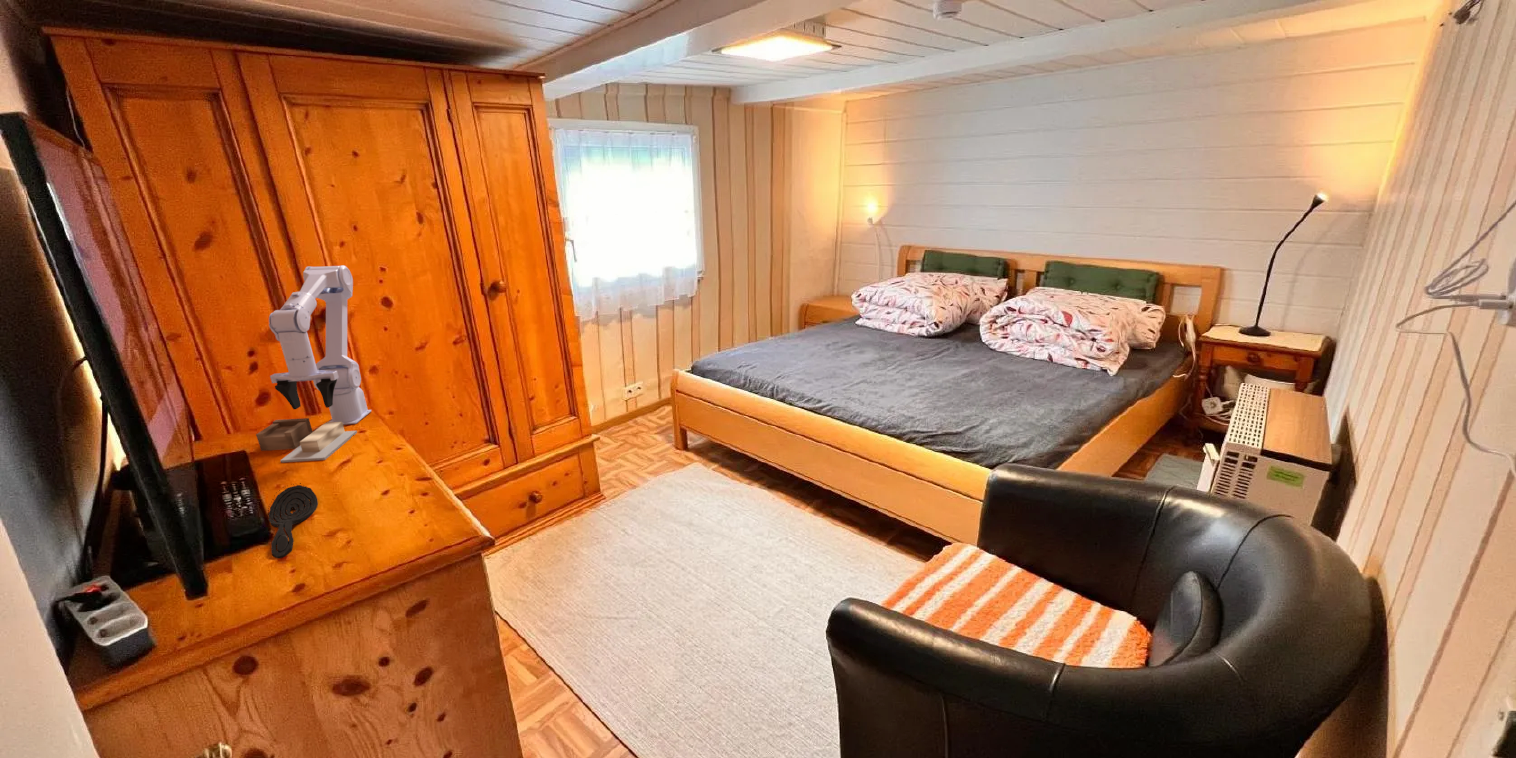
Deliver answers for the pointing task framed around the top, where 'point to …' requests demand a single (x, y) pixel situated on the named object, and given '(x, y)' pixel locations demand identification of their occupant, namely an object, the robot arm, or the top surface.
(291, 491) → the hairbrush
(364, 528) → the top surface
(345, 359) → the robot arm
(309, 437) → the bar
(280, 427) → the holder
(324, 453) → the mat
